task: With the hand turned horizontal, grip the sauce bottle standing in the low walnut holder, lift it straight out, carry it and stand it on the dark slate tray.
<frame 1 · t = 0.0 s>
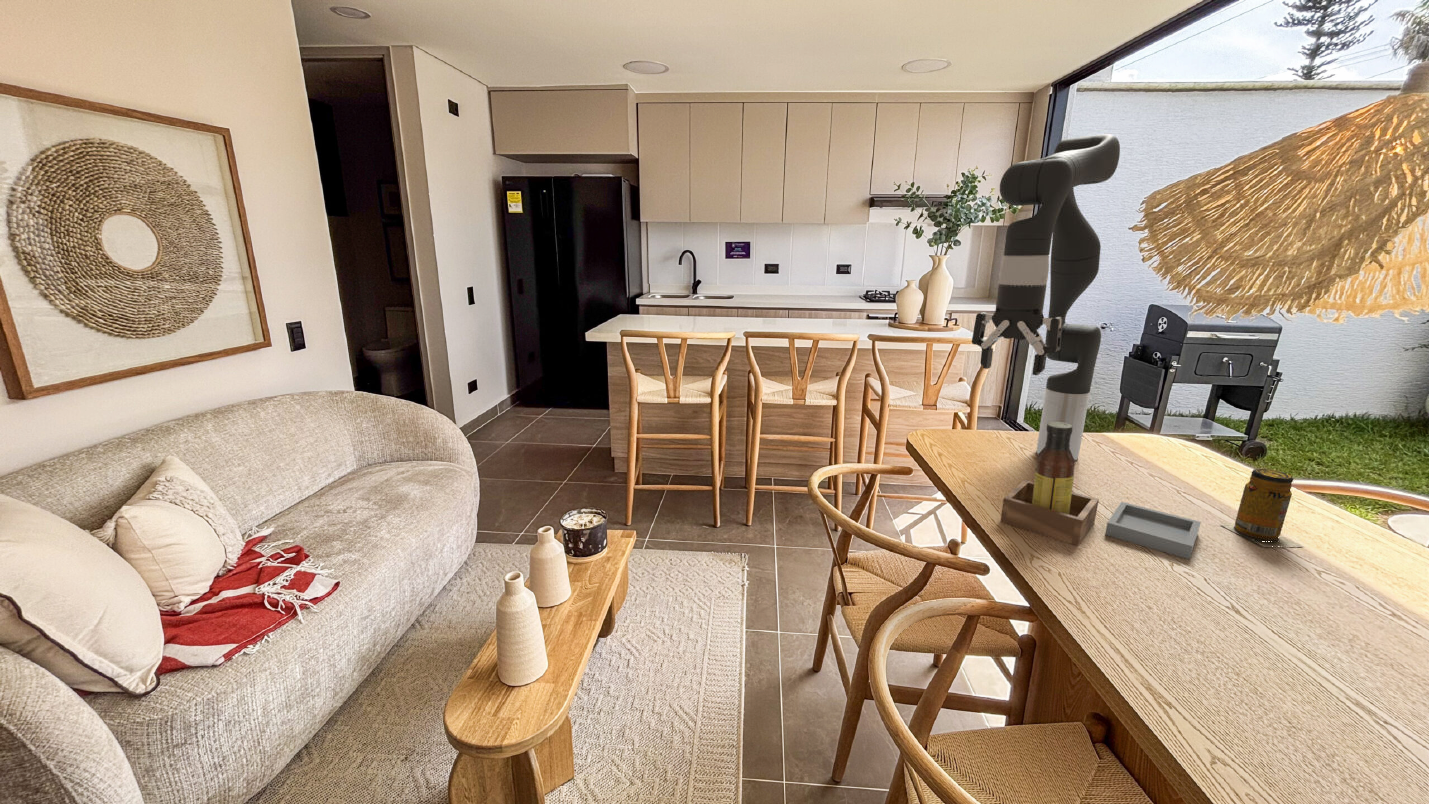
hand: (1010, 371, 102), 29 cm above the table, tool pointing down, fingers open, 8 cm apart
holder: (1047, 522, 106), on the table
tray: (1151, 534, 101), on the table
condiment: (1259, 536, 100), on the table
sauce bottle: (1047, 523, 106), resting in holder
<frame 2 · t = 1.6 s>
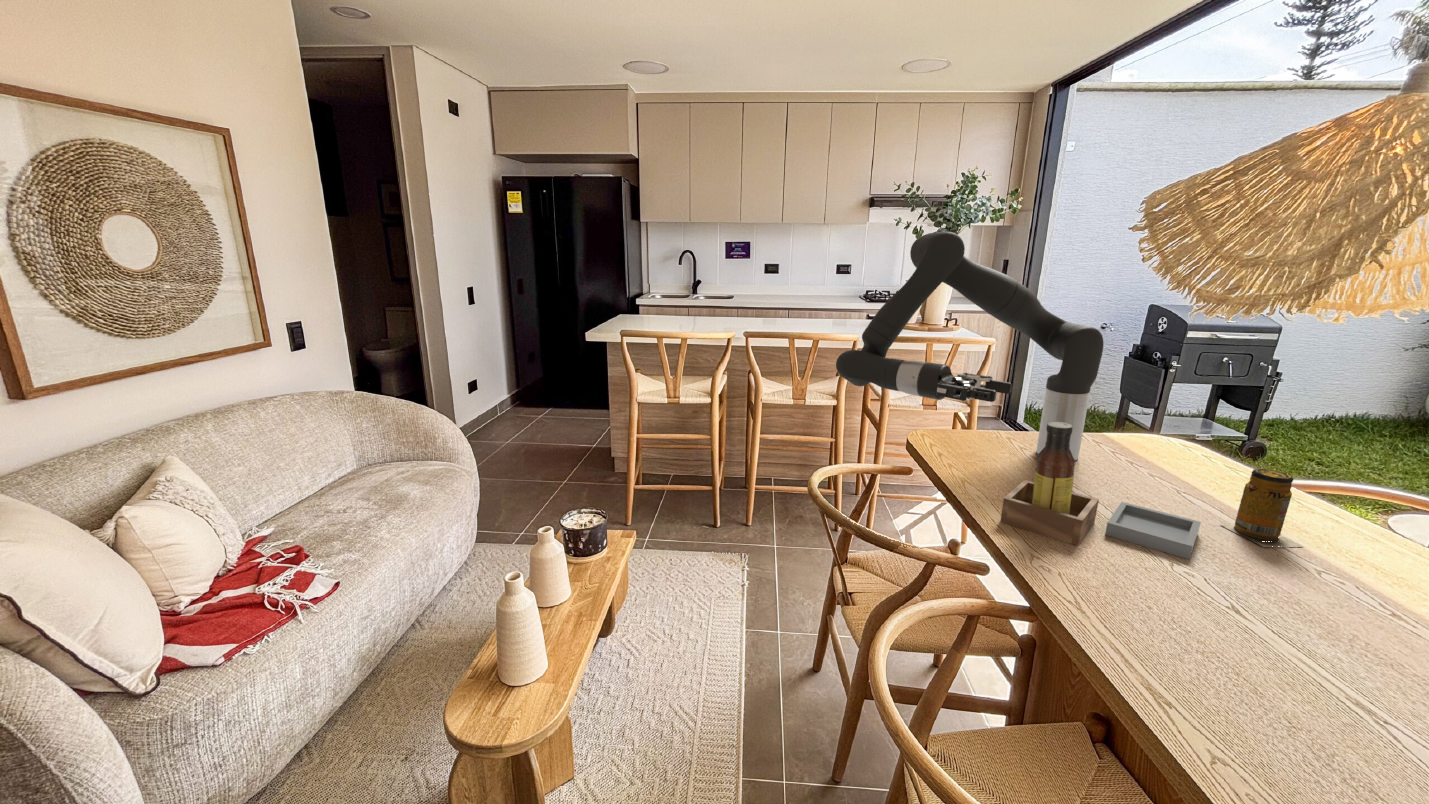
hand: (1003, 392, 107), 24 cm above the table, tool horizontal, fingers open, 8 cm apart
nothing on the table moved.
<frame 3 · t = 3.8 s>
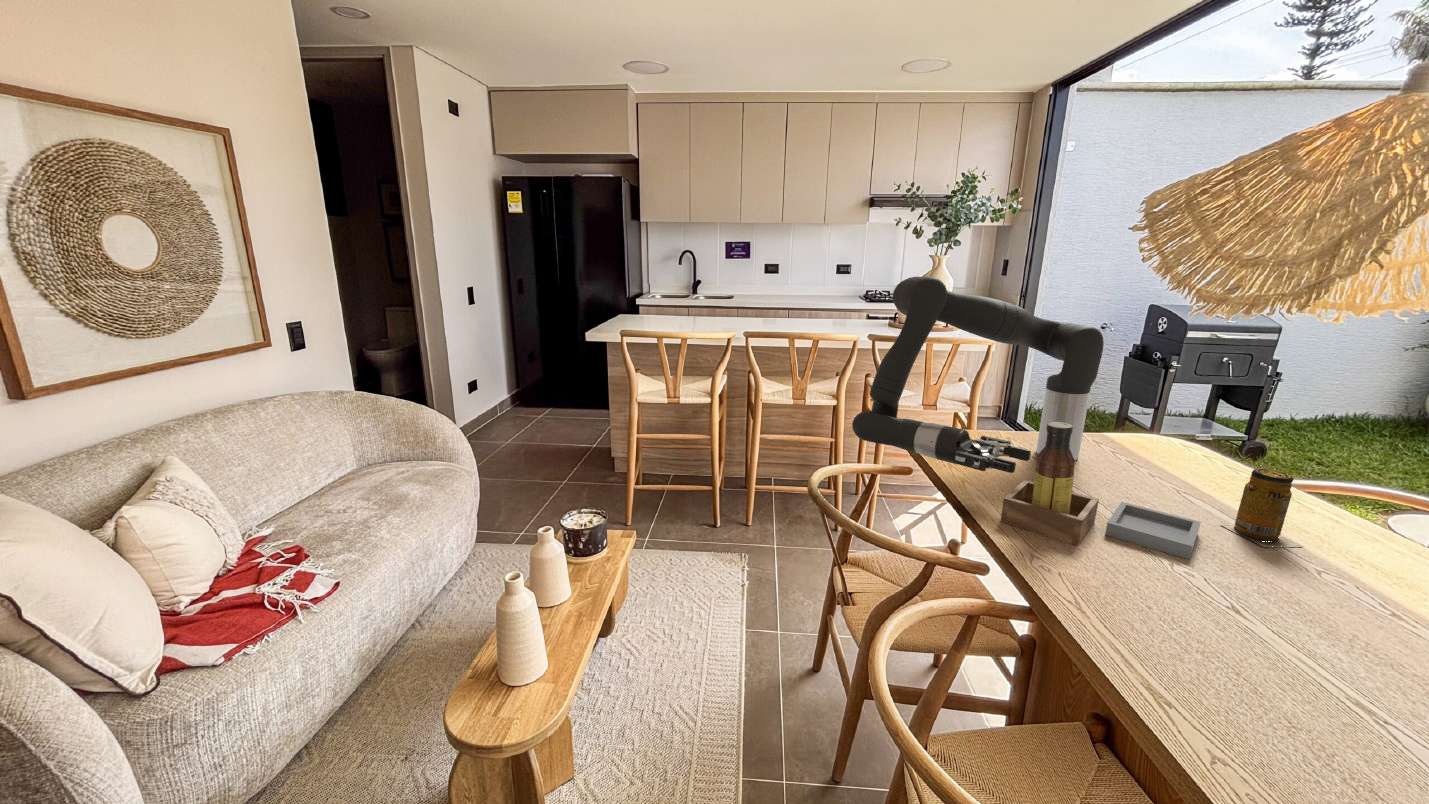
hand: (1022, 461, 107), 11 cm above the table, tool horizontal, fingers open, 8 cm apart
nothing on the table moved.
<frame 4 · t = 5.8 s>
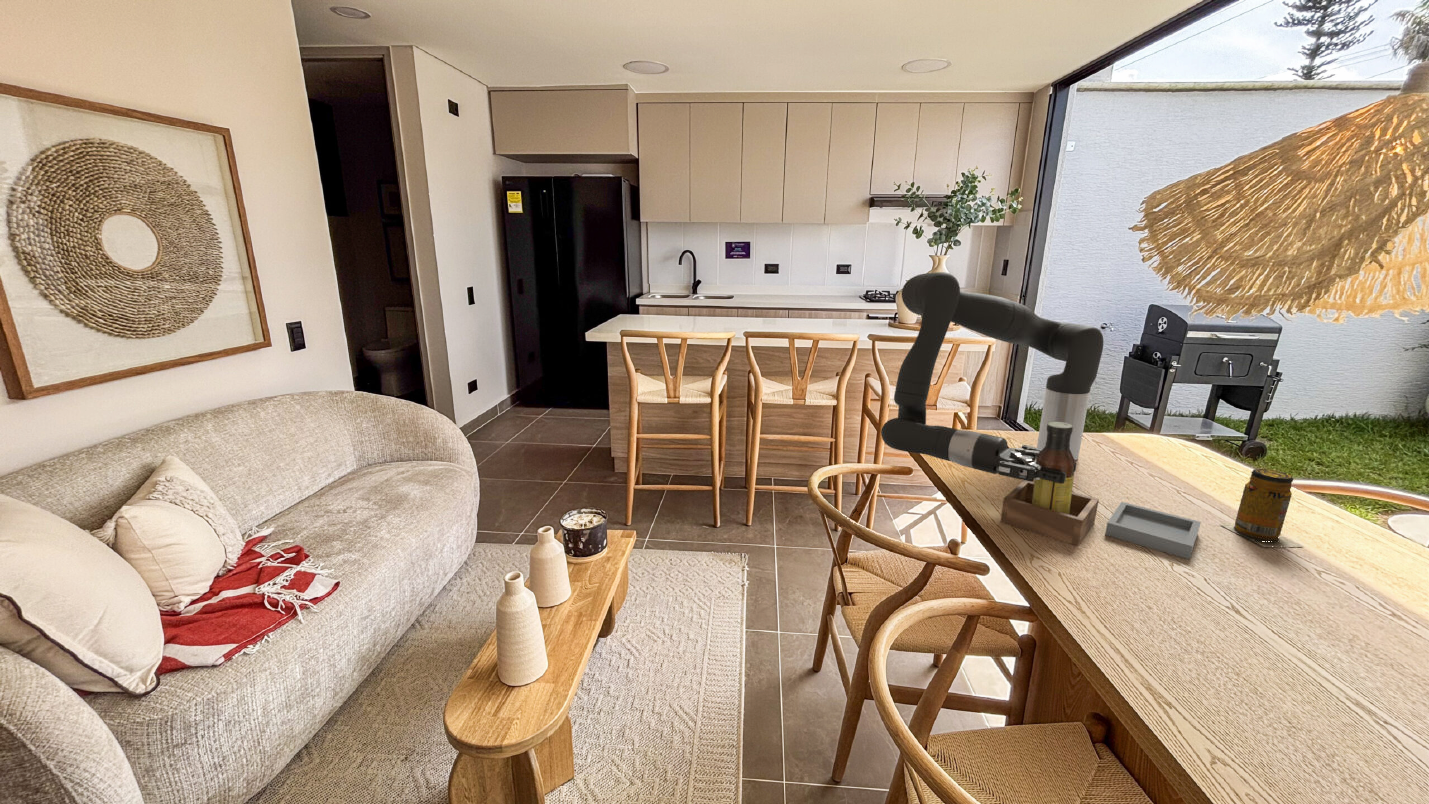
hand: (1070, 472, 101), 11 cm above the table, tool horizontal, fingers closed on sauce bottle, 6 cm apart
sauce bottle: (1046, 523, 106), resting in holder, touching gripper
everything else where it was.
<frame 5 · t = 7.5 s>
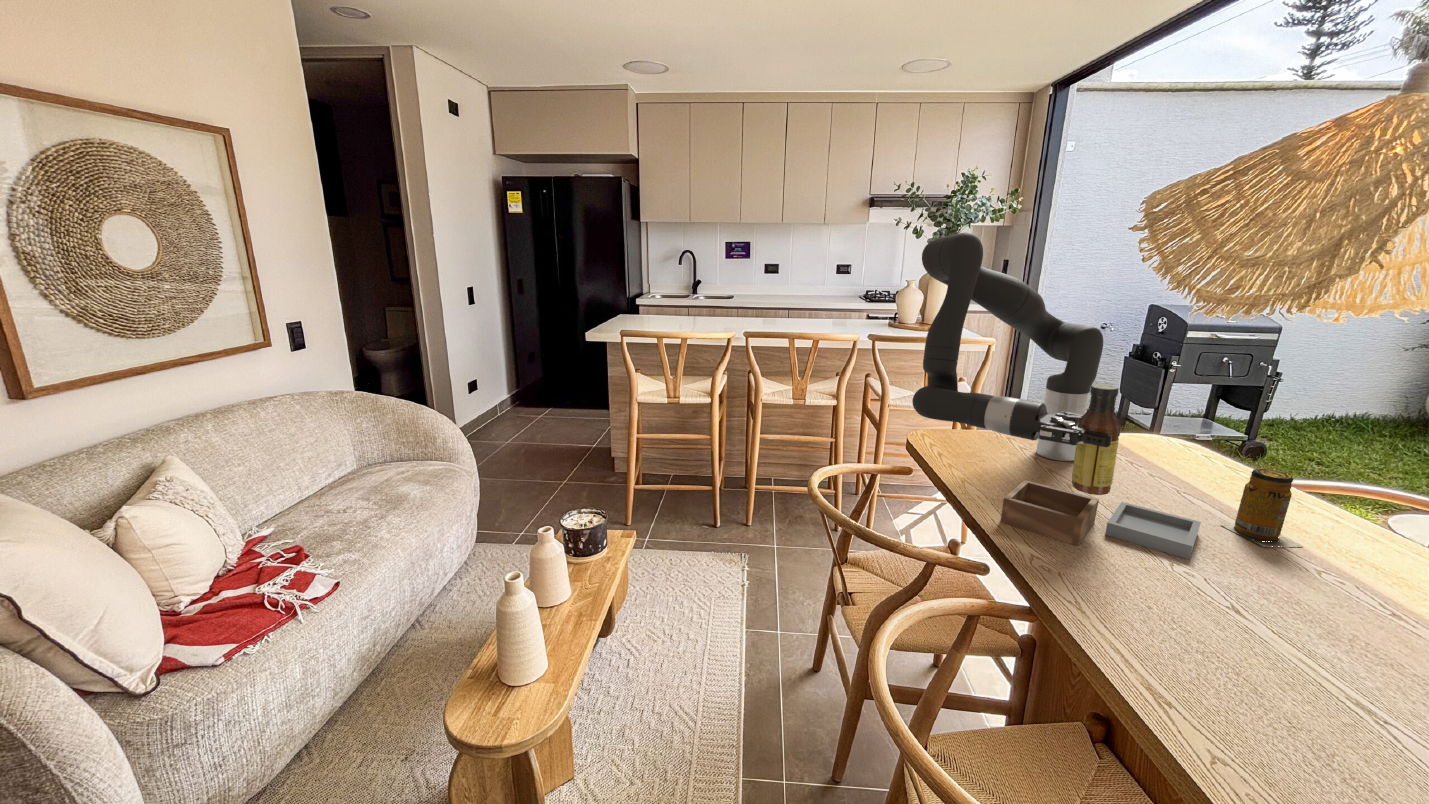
hand: (1115, 436, 98), 19 cm above the table, tool horizontal, fingers closed on sauce bottle, 6 cm apart
sauce bottle: (1088, 490, 103), point 7 cm above the table, touching gripper
everything else where it was.
when the fingers open (13 cm above the table, at t = 9.7 s): sauce bottle drops 1 cm, resting on tray.
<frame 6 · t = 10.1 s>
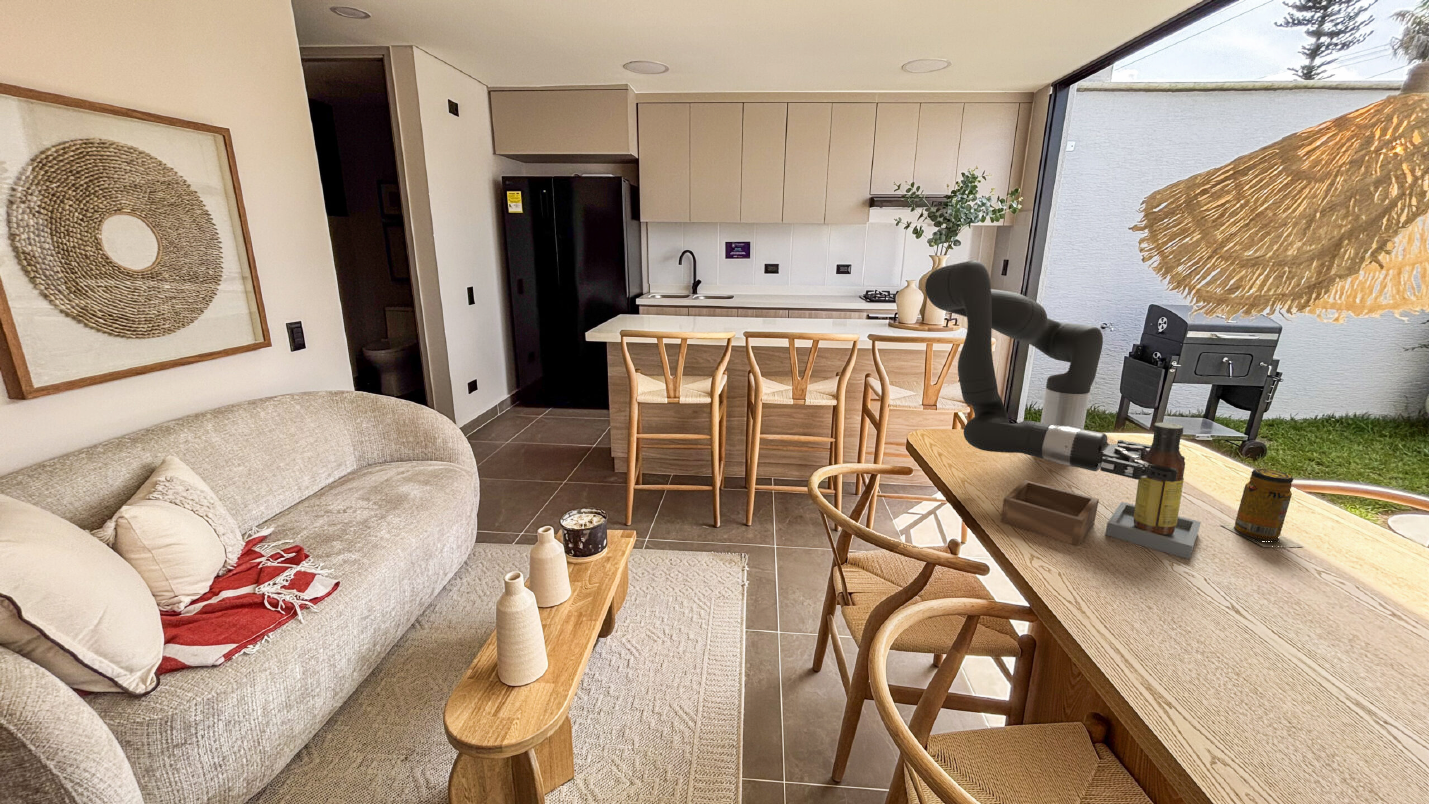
hand: (1180, 469, 96), 14 cm above the table, tool horizontal, fingers open, 8 cm apart
sauce bottle: (1151, 529, 101), point 1 cm above the table, touching tray
everything else where it was.
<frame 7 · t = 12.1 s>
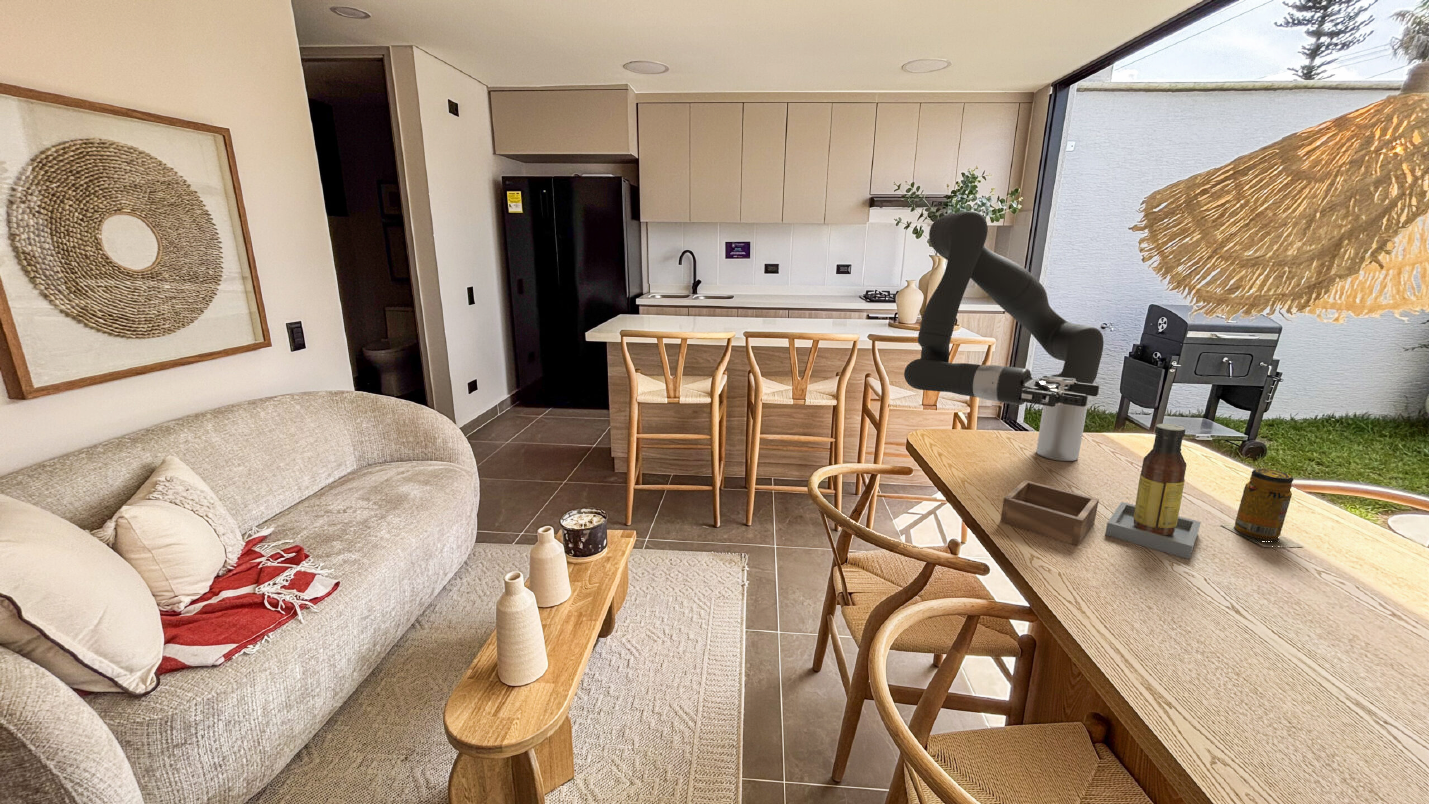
hand: (1092, 395, 103), 24 cm above the table, tool horizontal, fingers open, 8 cm apart
nothing on the table moved.
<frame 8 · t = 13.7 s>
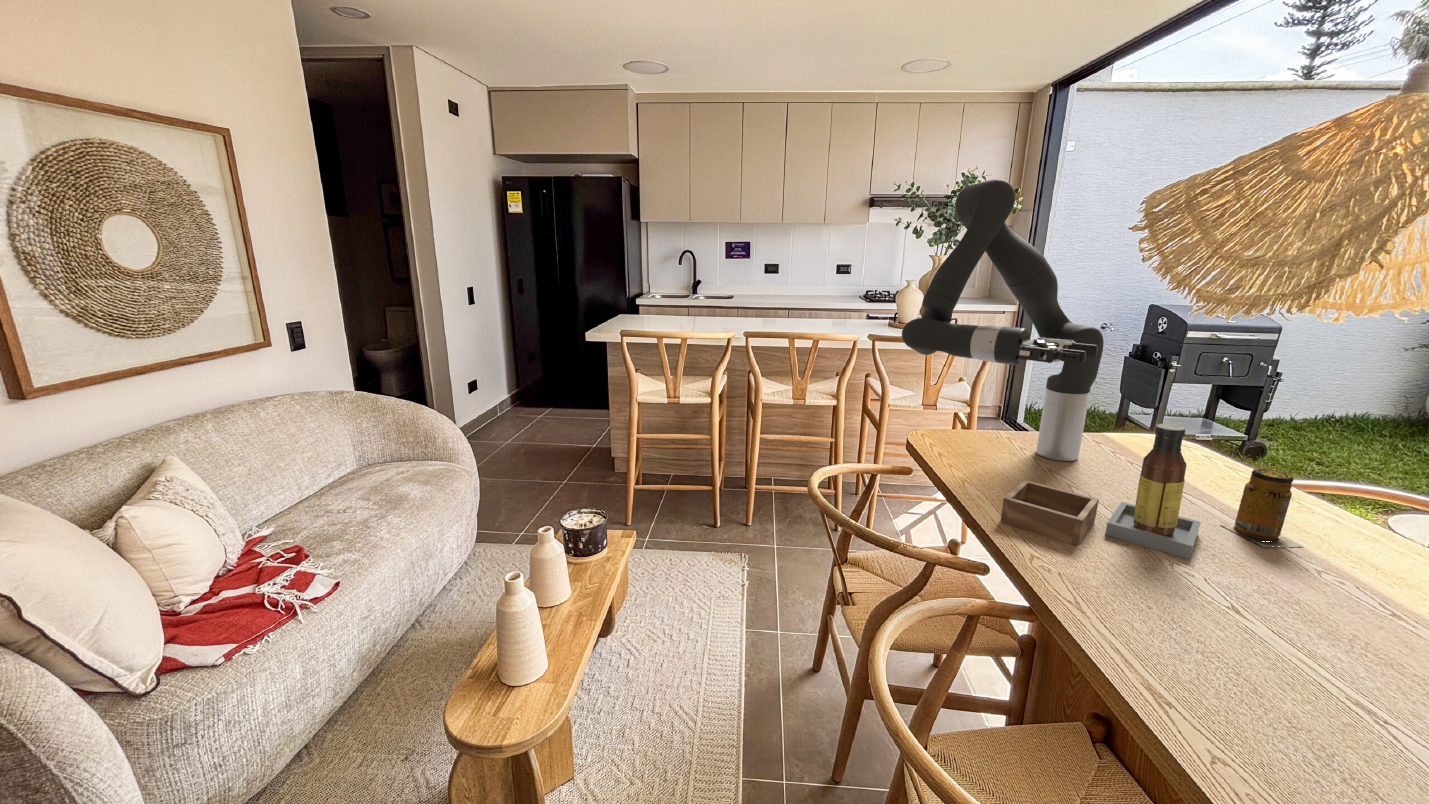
hand: (1091, 354, 102), 32 cm above the table, tool horizontal, fingers open, 8 cm apart
nothing on the table moved.
at the end: sauce bottle inside the target area on the tray (0.1 cm from its centre), point 0.8 cm above the tray's base; sauce bottle tilted 0°; the gripper is holding nothing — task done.
